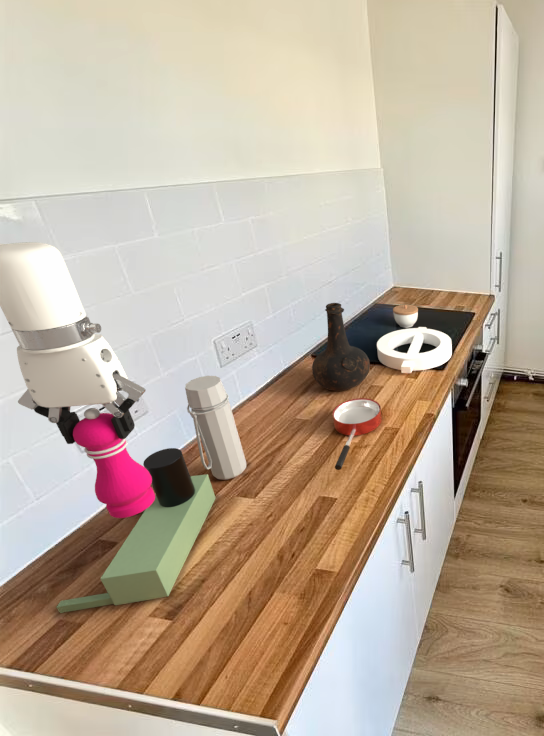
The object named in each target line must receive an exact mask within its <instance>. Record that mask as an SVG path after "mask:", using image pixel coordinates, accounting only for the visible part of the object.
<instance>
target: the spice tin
mask: <svg viewBox="0 0 544 736" xmlns="http://www.w3.org/2000/svg"><path fill="white" fill-rule="evenodd" d="M142 464H143V465H142V466H143V467H145V468H146V469H147V470H148V471H149V473H150V475H151V477H152V483H151V487H152V489H153V491H154V494H156V496H157V499H158V501H159V504H160V505H161V506H163V507H174V506H178V505H181V504H183V503H185V502H186V501H188V500H189V499H191V498H192V497H193V495H194V494H195V488H194V485H193V482H192V479H191V477H190V476H191V473H190V471H189V468H188V465H187V463H186V460H185V458H184V455H183V452H182V450H181V449H179V448H176V447H170V448H169V447H168V448H164V449H160V450H158V451H155V452H153V453H151V454H150V455H148V456H147V457H146V458H145V459H144V461H143V463H142Z"/></svg>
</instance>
